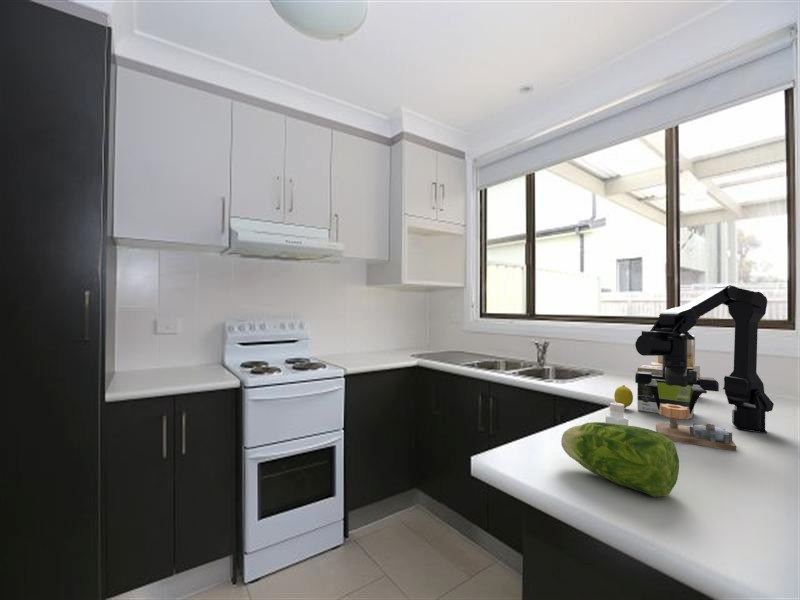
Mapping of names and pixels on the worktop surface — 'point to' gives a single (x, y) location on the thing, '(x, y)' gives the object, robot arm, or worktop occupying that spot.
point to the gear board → (697, 434)
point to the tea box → (661, 393)
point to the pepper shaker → (616, 414)
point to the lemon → (623, 396)
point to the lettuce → (625, 455)
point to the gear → (674, 411)
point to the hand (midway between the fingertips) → (674, 411)
